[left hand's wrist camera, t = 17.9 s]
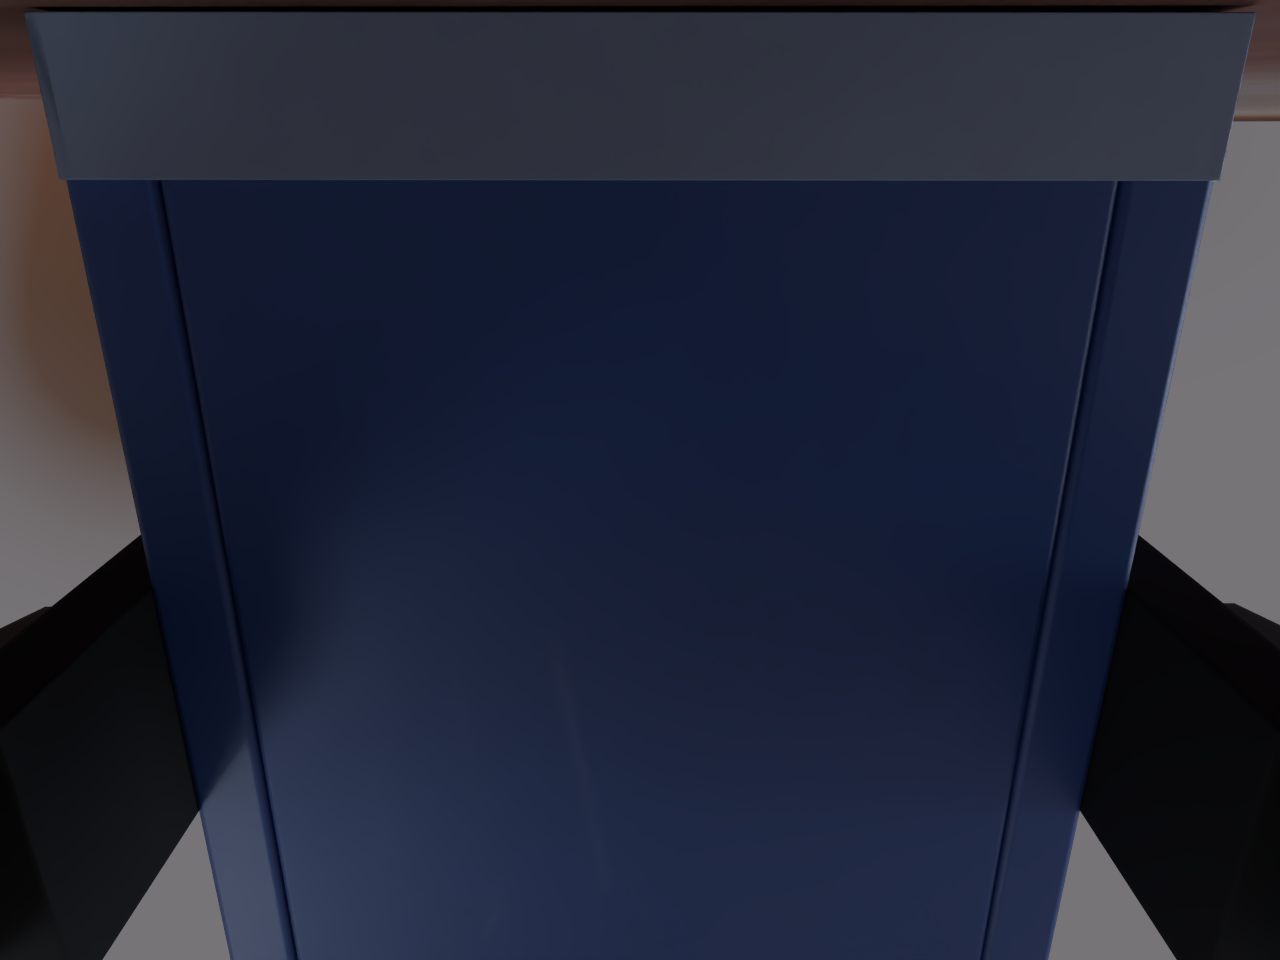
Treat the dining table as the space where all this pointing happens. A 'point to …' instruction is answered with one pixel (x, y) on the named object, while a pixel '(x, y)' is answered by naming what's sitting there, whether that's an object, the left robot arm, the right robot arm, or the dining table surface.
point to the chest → (639, 453)
